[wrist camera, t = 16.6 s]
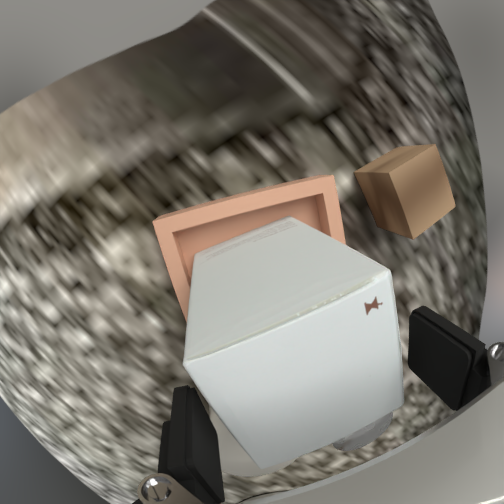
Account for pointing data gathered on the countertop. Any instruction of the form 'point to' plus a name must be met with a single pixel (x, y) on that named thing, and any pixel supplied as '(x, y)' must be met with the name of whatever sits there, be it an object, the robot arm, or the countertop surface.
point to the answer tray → (243, 222)
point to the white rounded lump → (238, 454)
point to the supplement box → (292, 339)
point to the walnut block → (407, 189)
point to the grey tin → (364, 434)
